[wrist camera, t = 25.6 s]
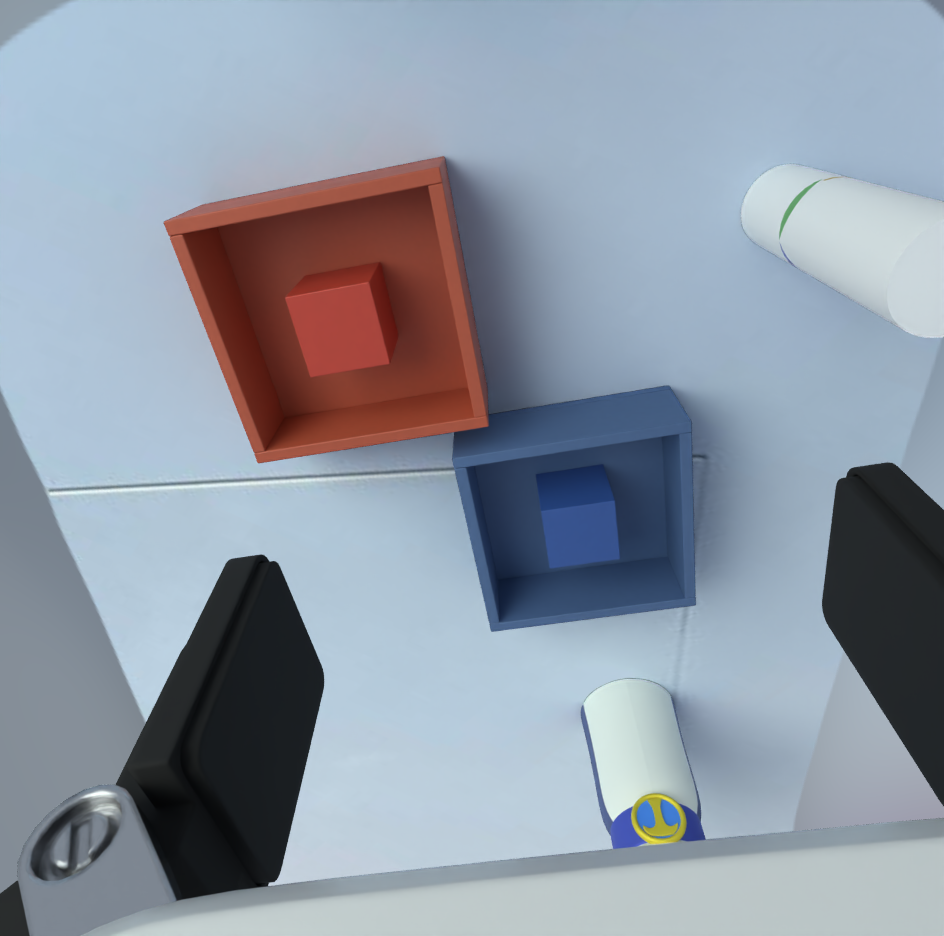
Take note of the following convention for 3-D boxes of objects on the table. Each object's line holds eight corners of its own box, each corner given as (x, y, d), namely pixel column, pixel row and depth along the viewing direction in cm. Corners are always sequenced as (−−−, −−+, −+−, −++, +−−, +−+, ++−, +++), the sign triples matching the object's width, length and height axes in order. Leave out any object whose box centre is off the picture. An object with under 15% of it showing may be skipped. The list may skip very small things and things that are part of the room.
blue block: (535, 473, 44) (540, 511, 40) (602, 463, 43) (615, 500, 39) (543, 528, 46) (549, 569, 42) (608, 519, 45) (620, 559, 42)
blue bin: (454, 419, 42) (452, 458, 38) (669, 384, 41) (692, 421, 37) (490, 582, 49) (491, 632, 45) (675, 557, 48) (696, 605, 43)
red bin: (201, 204, 36) (162, 221, 32) (444, 156, 35) (439, 166, 30) (280, 424, 43) (257, 464, 38) (488, 390, 41) (489, 427, 37)
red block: (303, 275, 37) (284, 297, 34) (380, 261, 37) (369, 281, 33) (326, 349, 40) (310, 377, 36) (399, 336, 39) (390, 364, 35)
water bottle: (568, 681, 54) (628, 1083, 32) (676, 670, 53) (812, 1073, 31) (576, 748, 58) (635, 1145, 36) (676, 738, 57) (797, 1137, 36)
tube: (820, 151, 35) (1025, 193, 22) (825, 233, 37) (1015, 317, 24) (736, 179, 35) (885, 236, 22) (745, 258, 37) (888, 353, 24)
